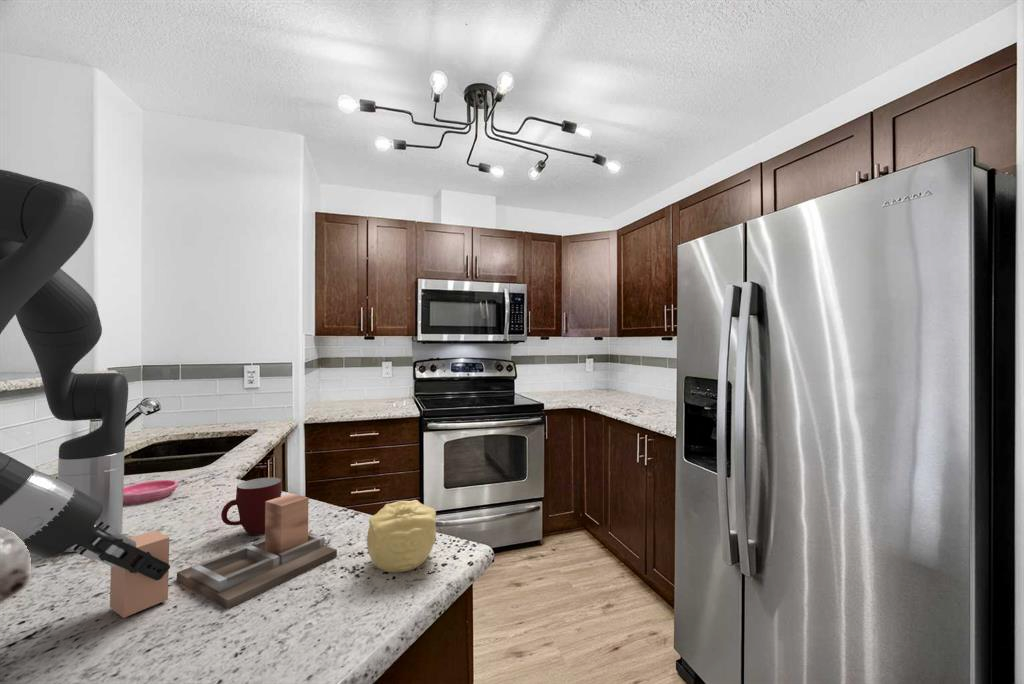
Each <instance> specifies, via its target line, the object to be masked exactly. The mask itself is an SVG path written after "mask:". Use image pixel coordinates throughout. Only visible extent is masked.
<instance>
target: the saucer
mask: <svg viewBox="0 0 1024 684" xmlns="http://www.w3.org/2000/svg"><path fill="white" fill-rule="evenodd" d="M178 487H179V481H177V480H175V479H158V480H148V481H143V482H137V483H133V484H128V485H125V486H124V487H123V504H125V505H138V503H139V504H145V503H152V502H155V501H160V500H163V499H165V497H166V498H168V497H169V495H170V494H171V495H172V493H173V492H174V491H176V489H177V488H178ZM171 495H170V496H171ZM167 496H168V497H167ZM162 498H163V499H162ZM159 499H160V500H159Z"/></svg>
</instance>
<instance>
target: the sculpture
mask: <svg viewBox="0 0 1024 684" xmlns="http://www.w3.org/2000/svg"><path fill="white" fill-rule="evenodd" d="M436 515H437V511H436V509H435V508H433V507H430V506H428V505H426V504H424V503H421V502H420V501H419V500H417V499H413V500H398V501H395V502H391V503H386V504H385V505H383V507H382V508H381V509H380V510H378V512H377V513H375V514H373V515H372V516H371V517H370V518H369V520H368V524H369V526H368V530H367V534H366V535H367V536H366V546H367V551H368V554H369V555H368V556H369V557H370V559H371V561H372V563H373V564H374V565H375V566H376V567H377V568H378V569H379V570H381V571H384V572H388V573H403V572H408V571H412V570H414V569H417V568H418V567H420V566H421V565H422V564H423V563H424V562H425V561H426V560H427V559H428V557H429V555H430V554H431V552H432V549H433V548H434V547H433V546H434V544H435V542H436V537H437V527H436V525H437V516H436Z"/></svg>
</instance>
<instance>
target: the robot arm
mask: <svg viewBox="0 0 1024 684" xmlns="http://www.w3.org/2000/svg"><path fill="white" fill-rule="evenodd" d="M93 209H94V208H93V205H92V203H91V200H90V199H89V198H88V197H87V195H85V194H84V193H83V192H82V191H80V190H78V189H76V188H73V187H70V186H67V185H63V184H60V183H56V182H54V181H53V182H52V181H48V180H45V179H40V178H38V177H33V176H29V175H26V174H22V173H18V172H15V171H11V170H10V171H9V170H5V169H0V335H1V334H2V332H3V331H4V330H5V329H6V327H7V325H8V324H9V323H10V322H11V320H13V318H14V316H15V317H16V320H17V322H18V324H19V327H20V329H21V332H22V334H23V336H24V338H25V340H26V342H27V344H28V346H29V349H30V350H31V352H32V355H33V358H34V359H35V363H36V365H37V367H38V370H39V373H40V376H41V377H40V378H41V381H42V385H43V389H44V393H45V398H46V401H47V405H48V408H49V411H50V413H51V414H52V415H53V416H54V418H56V419H57V420H60V421H63V422H64V421H67V422H77V421H90V420H92V421H93V420H102V423H101V425H100V426H99V427H98V428H96V429H94V430H93V431H91V432H88V433H86V434H84V435H81V436H77V437H74V438H70V439H68V440H65V441H64V442H62V443H60V445H59V447H58V459H57V460H58V464H57V466H58V467H57V468H58V469H57V478H56V477H55V476H53V475H50V474H47V473H44V472H41V471H39V470H37V469H35V468H32V467H31V466H29V465H26V464H25V463H23V462H21V461H19V460H18V459H15V458H13V457H12V456H10V455H9V454H6V453H4V452H1V451H0V527H3V528H5V529H7V530H10V531H12V532H14V533H15V534H16V535H17V536H18V537H19V538H20V539H21V540H22V541H23V542H24V543H25V545H26V546H27V549H28V550H29V552H28V553H30V554H32V555H35V556H37V557H40V558H42V559H50V558H54V557H57V556H59V555H60V554H63V553H72V552H74V553H75V552H77V554H78V555H80V556H83V557H84V558H87V559H88V560H93V559H94V560H97V561H98V562H101V563H102V564H105V565H107V566H109V567H110V568H111V567H116V566H119V567H122V568H124V569H126V570H128V571H129V572H130V573H137V572H139V573H141V574H143V575H145V576H147V577H150V578H152V579H154V580H160V579H161V578H162V577H163V576H164V575H165V574H166V572H167V571H168V570H169V571H170V569H171V564H170V563H169V564H167V563H165V562H163V561H161V560H159V559H157V558H155V557H153V556H152V555H151V553H149V552H148V551H143V550H141V549H139V548H137V547H136V542H135V541H134V540H132V539H130V538H131V537H127V536H126V535H124V534H123V516H124V503H123V487H125V486H124V482H125V481H124V480H125V477H124V475H125V443H126V441H125V440H126V421H127V410H128V408H127V407H128V402H129V401H128V400H129V383H128V379H127V377H126V376H125V374H122V373H119V372H99V373H98V372H94V373H93V372H92V373H89V372H88V373H86V372H85V373H76V372H73V371H72V370H73V369H74V367H75V366H76V365H77V364H78V363H79V362H80V361H81V360H82V359H83V358H84V357H86V356H87V355H88V353H90V352H91V351H92V350H93V348H95V346H96V345H97V344H98V342H99V340H100V339H101V337H102V334H103V327H102V323H101V319H100V315H99V311H98V307H97V304H96V302H95V300H94V299H93V297H92V295H91V294H90V293H89V292H88V291H87V290H86V289H85V288H84V287H83V286H82V285H81V284H80V283H78V281H76V280H75V279H74V278H73V277H72V276H70V274H68V272H66V271H64V270H63V269H62V268H63V266H64V265H65V264H66V263H67V262H68V261H69V260H70V259H71V258H72V257H73V256H74V254H76V253H77V251H78V250H79V249H80V248H81V246H82V245H83V244H84V242H85V241H86V240H87V239H88V236H89V235H90V232H91V231H92V228H93V224H94V210H93ZM124 541H125V542H124ZM126 542H127V543H126ZM136 554H139V555H138V556H137V557H136V558H135V559H134V560H133V562H132V563H131V564H128V563H129V562H130V560H131V559H132V558H133V557H134V556H135V555H136Z"/></svg>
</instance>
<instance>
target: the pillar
mask: <svg viewBox="0 0 1024 684" xmlns="http://www.w3.org/2000/svg"><path fill="white" fill-rule="evenodd" d="M129 538H130V539H132V540H134V541H135V542H136V547H137V548H139V549H141V550H143V551H148V552H149V553H151V555H152V556H153V557H155V558H157V559H159V560H161V561H163V562H165V563H167V564H169V565H170V536H168V535H165V534H163V533H161V532H159V531H157V530H152V531H148V532H144V533H141V534H137V535H134V536H131V537H129ZM124 542H125V541H124ZM126 543H127V542H126ZM138 555H139V554H136V555H135V556H134V557H133V558H132V559H131V560H130V562H129V563H128V564H131V563H132V562H133V560H134V559H135V558H136V557H137V556H138ZM169 572H170V569H169V570H168V571H167V572H166V574H165V575H164V576H163V577H162V578H161V579H160V580H154V579H152V578H150V577H147V576H145V575H143V574H141V573H139V572H137V573H130V572H129V571H128V570H126V569H124V568H122V567H119V566H116V567H111V566H110V586H109V587H110V588H109V589H110V590H109V608H110V609H112V611H114V612H116V613H117V614H118V615H119V616H120V617H122V619H123V618H124V619H125V618H126V617H129V616H132V615H133V614H136V613H138V612H141V611H143V610H145V609H148V608H151V607H153V606H156V605H158V604H160V603H162V602H165V601H168V600H169V574H170V573H169Z"/></svg>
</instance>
